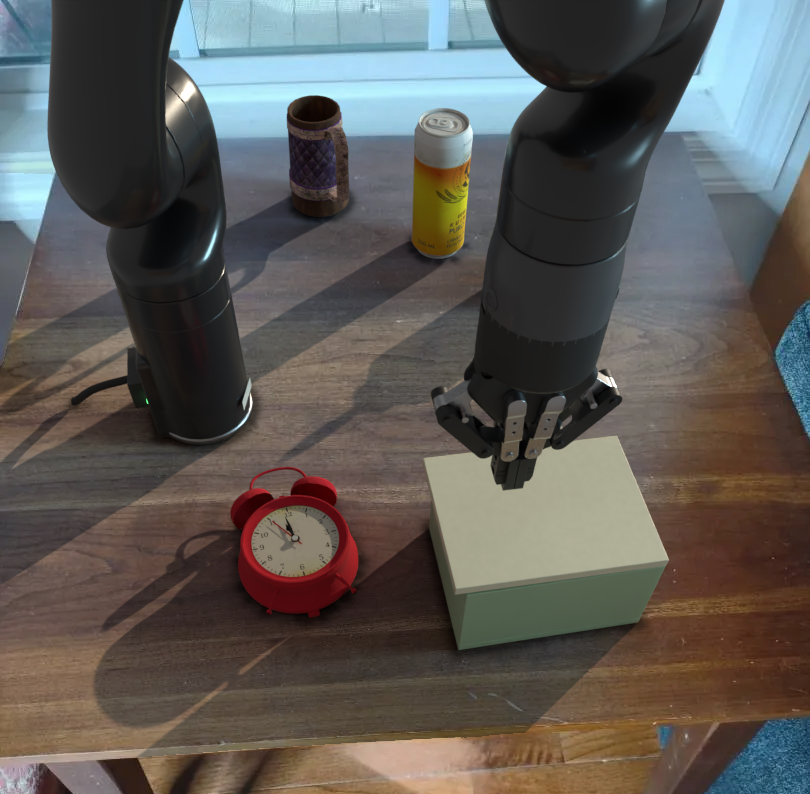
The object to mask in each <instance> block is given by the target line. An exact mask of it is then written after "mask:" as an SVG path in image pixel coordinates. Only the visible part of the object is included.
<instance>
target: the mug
mask: <svg viewBox="0 0 810 794" xmlns="http://www.w3.org/2000/svg"><path fill="white" fill-rule="evenodd" d="M343 127H344V125H343V115H342V111H341V106H340V104H339V103H338V102H337V101H336V100H335V99H333V98H331V97H328V96H324V95H318V94H315V95H314V94H313V95H312V94H309V95H305V96H300V97H298V98H296V99H294V100H293V101H292V102H290V103H289V105H288V106H287V109H286V129H287V136H288V137H287V139H288V153H289V169H288V172H289V173H288V179H289V188H290V190H291V203H292V205H293V206H294V208H295V209H296V210H297V211H298V212H300V213H301V214H303V215H306V216H309V217H313V218H327V217H332V216H334V215H336V214H339V213H340V212H341V211H342V210H343V209H345V208H346V207H347V206H348V204H349V202H350V199H349V198H350V197H349V196H350V174H349V146H348V140H347V135H346V133H345V130H344V129H343Z"/></svg>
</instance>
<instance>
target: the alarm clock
mask: <svg viewBox="0 0 810 794" xmlns="http://www.w3.org/2000/svg"><path fill="white" fill-rule="evenodd" d="M286 470H288V471H295V472H297V473H299V474H300V475H301V476H302V477H301V478H298V479H296V480H295V481H294V482H293V484H292V485H291V488H290V495H284V494H283V495H278V497H277V498H274V497H273V495H272V494H271V493H270V492H269V491H268V490H266V489H265V488H262V487H256V488H253V485H254V482H255V481H256V480H258V479H259V478H260V477H262V476H264V475H266V474H270V473H274V472H278V471H286ZM337 501H338V490H337V489H336V486H335V485H334V484H333V483H332V482H331V481H330V480H328V479H326V478H324V477H320V476H315V475H309V476H307V474H306V473H305V472H304V471H303V470H301V469H300V468H297V467H295V466H280V467H275V468H271V469H267V470H264V471H262V472H259V473H258V474H256V475H255V476H254V477H253V478H252V479H251V481H250V483H249V489H248V490H247V491H244V492H243V493H241V494H240V495H239V496H238V497H237V498H236V499H235V500H233V503H232V505H231V506H230V512H229V515H230V519H231V522H232V523H233V525H234V526H235V527H236V528H237V529H238V530H242V531H241V535H240V539H239V549H240V551H239V554H238V558H237V566H238V567H237V569H238V574H239V578H240V582H241V584H242V586H243V588H244V589H245V591H246V592H247V594H249V596H250V597H251V598H252V599H253V600H255V602H257V603H259V604H260V605H261V606H263V607H265V608H267V609H266V612H265V613H266V615H271V614H272V613H273V611H275V612H278V613H284V614H307V615H308V618H309V619H310V618H315V617H319V616H321V612H320V610H321V609H323V608H326V607H328V606H331V604H333V603H335V602H337V600H339V599H340V598H341V597H343V595H344V594H345V593H346V592H347V591H348V590H350V593H351V594H356V593H357V588H355V587H352V584H353V582H354V580H355V579H356V576H357V573H358V568H359V550H358V546H357V543H356V541H355V539H354V537H353V535H352V534H351V531H350V528H349V526H348V523H347V521H346V519H345V518H344V517H343V515H342V514H341V512H340V511H339V510H338V509H337V508H336V507H335V505H336V504H337Z"/></svg>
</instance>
